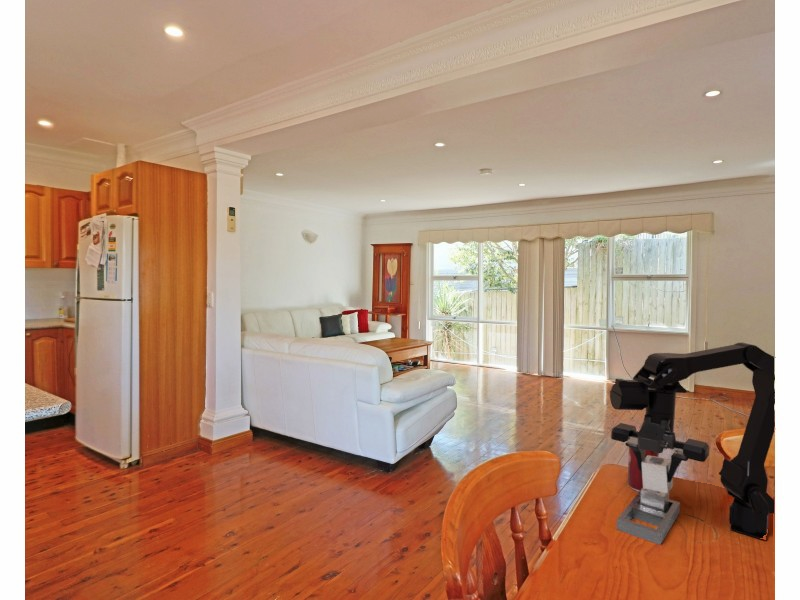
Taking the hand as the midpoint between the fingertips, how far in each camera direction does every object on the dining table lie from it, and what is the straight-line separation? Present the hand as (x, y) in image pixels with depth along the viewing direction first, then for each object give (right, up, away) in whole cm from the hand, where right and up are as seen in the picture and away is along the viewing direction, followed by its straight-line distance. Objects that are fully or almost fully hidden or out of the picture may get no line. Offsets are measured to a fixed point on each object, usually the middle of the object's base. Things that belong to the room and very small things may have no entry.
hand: (655, 477), depth 105 cm
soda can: (+8, -11, +21) cm, 25 cm away
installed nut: (+4, -12, +8) cm, 14 cm away
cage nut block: (+1, -2, +1) cm, 3 cm away
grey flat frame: (+1, -12, +4) cm, 13 cm away
